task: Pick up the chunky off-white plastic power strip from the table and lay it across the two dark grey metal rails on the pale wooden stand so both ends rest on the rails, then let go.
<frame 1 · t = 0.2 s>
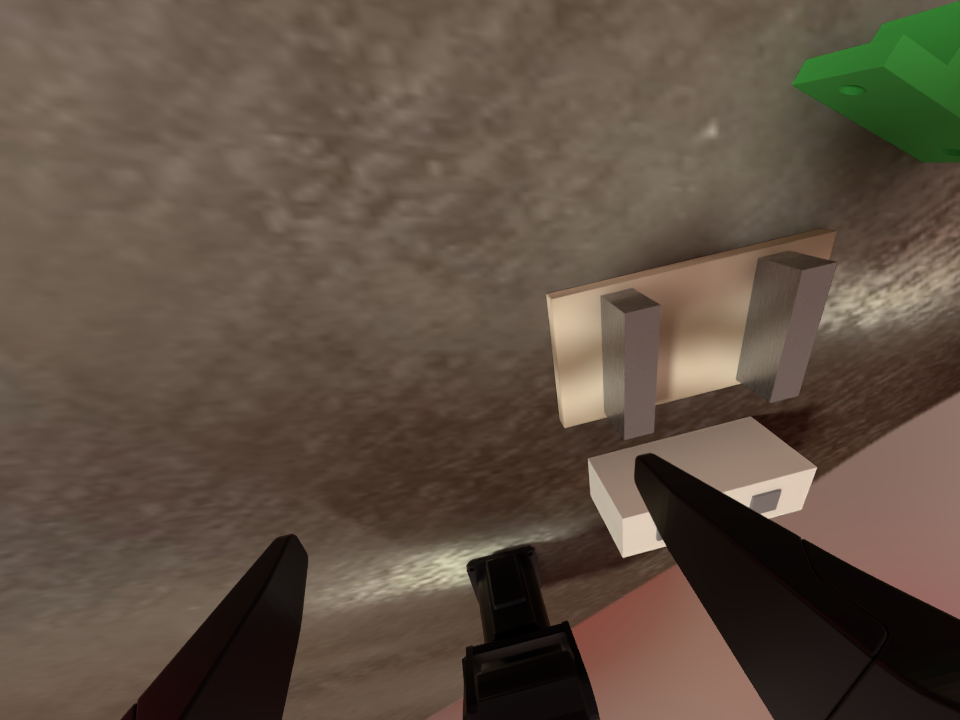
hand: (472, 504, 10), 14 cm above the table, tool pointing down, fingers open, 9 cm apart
power strip: (667, 455, 31), on the table
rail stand: (679, 332, 25), on the table
pipe clamp: (879, 92, 20), on the table
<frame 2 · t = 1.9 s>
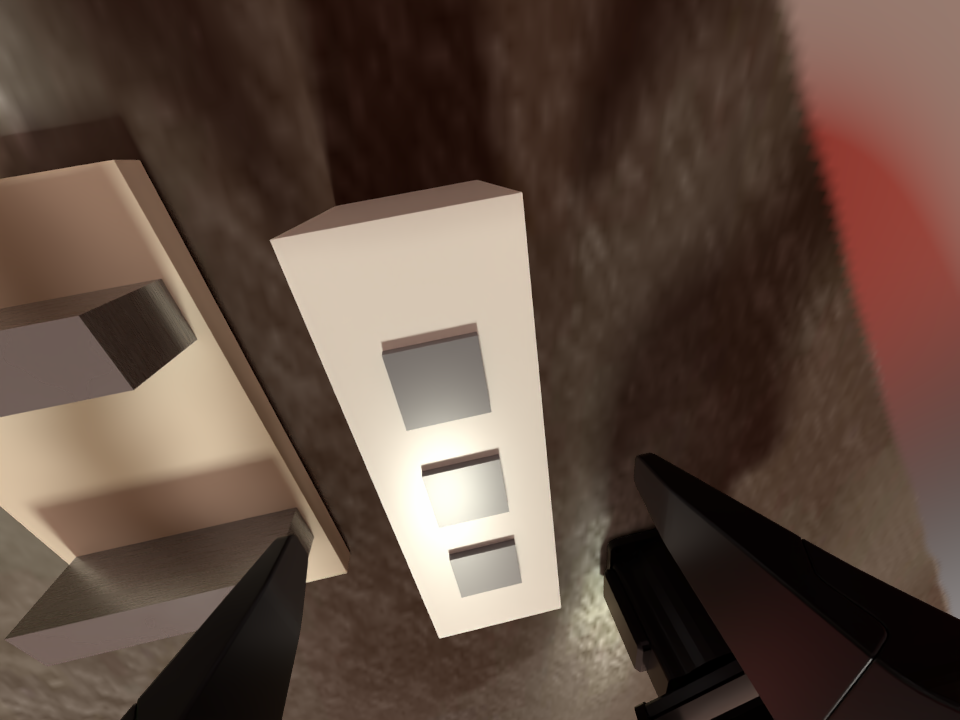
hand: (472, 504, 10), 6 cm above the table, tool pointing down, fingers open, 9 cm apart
power strip: (450, 376, 15), on the table
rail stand: (146, 443, 14), on the table
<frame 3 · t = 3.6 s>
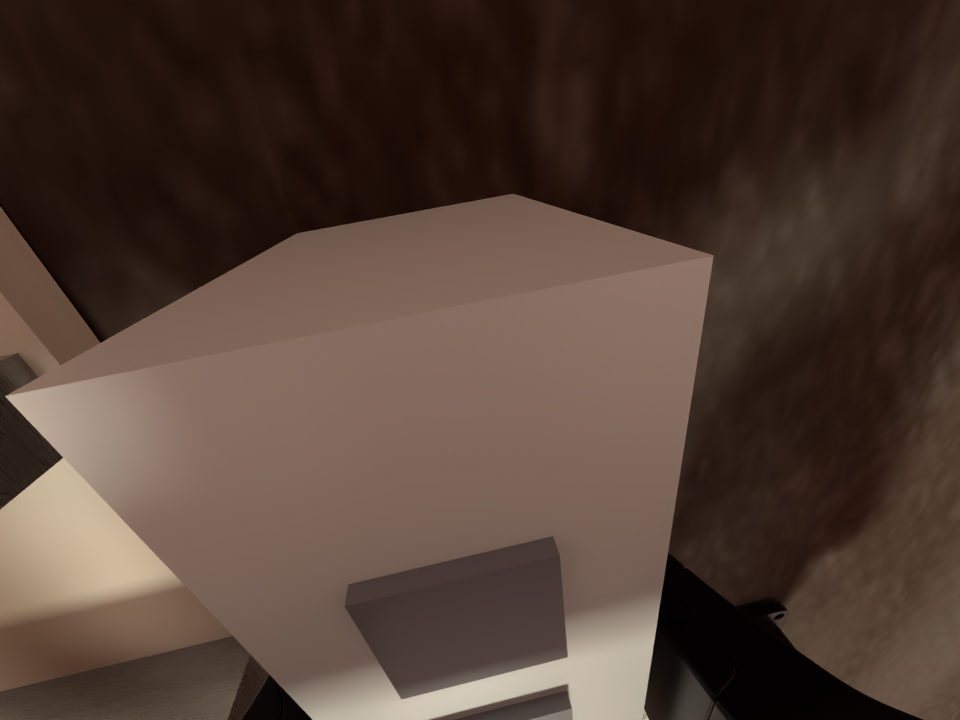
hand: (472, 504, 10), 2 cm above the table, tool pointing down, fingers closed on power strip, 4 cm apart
power strip: (465, 461, 11), on the table, touching gripper
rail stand: (46, 556, 10), on the table
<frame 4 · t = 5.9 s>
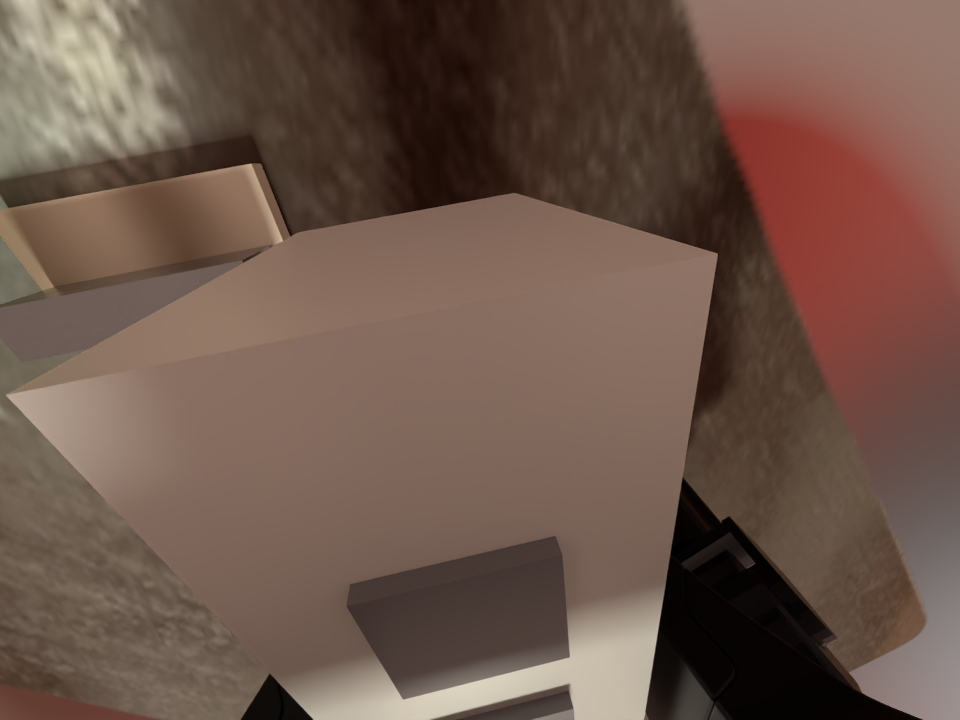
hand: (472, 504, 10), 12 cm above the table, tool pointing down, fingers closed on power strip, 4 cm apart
power strip: (465, 461, 11), point 10 cm above the table, touching gripper
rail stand: (242, 374, 19), on the table
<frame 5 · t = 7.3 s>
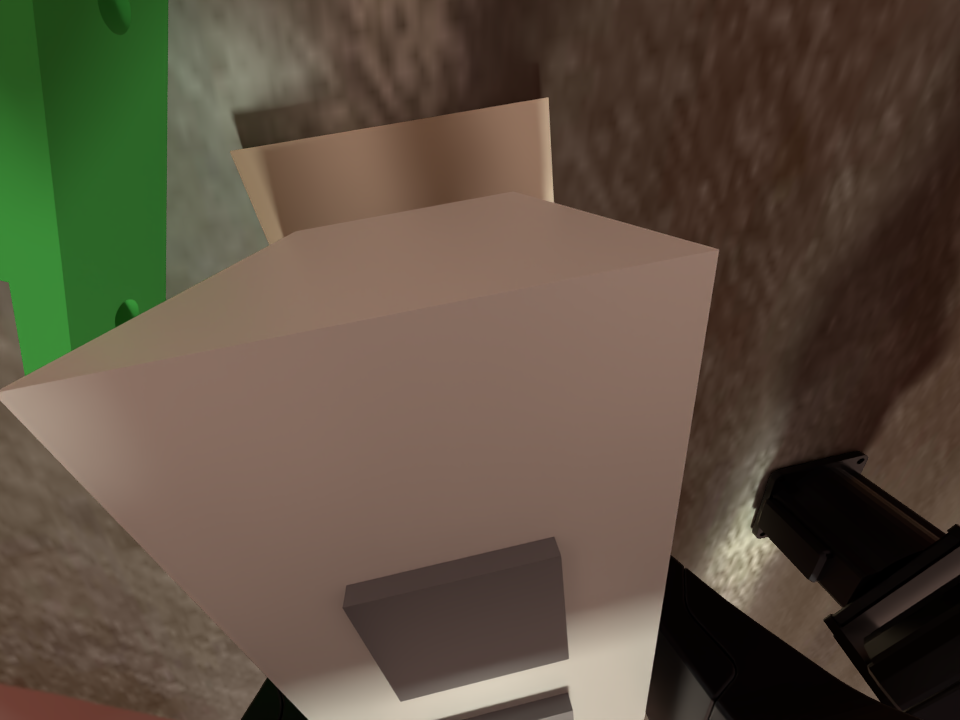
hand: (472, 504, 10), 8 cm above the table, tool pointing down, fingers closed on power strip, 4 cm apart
power strip: (465, 461, 11), point 7 cm above the table, touching gripper
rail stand: (447, 358, 17), on the table
pipe clamp: (110, 158, 12), on the table
when the fingers open (7 cm above the table, at t = 8.2 s): power strip drops 1 cm, resting on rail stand.
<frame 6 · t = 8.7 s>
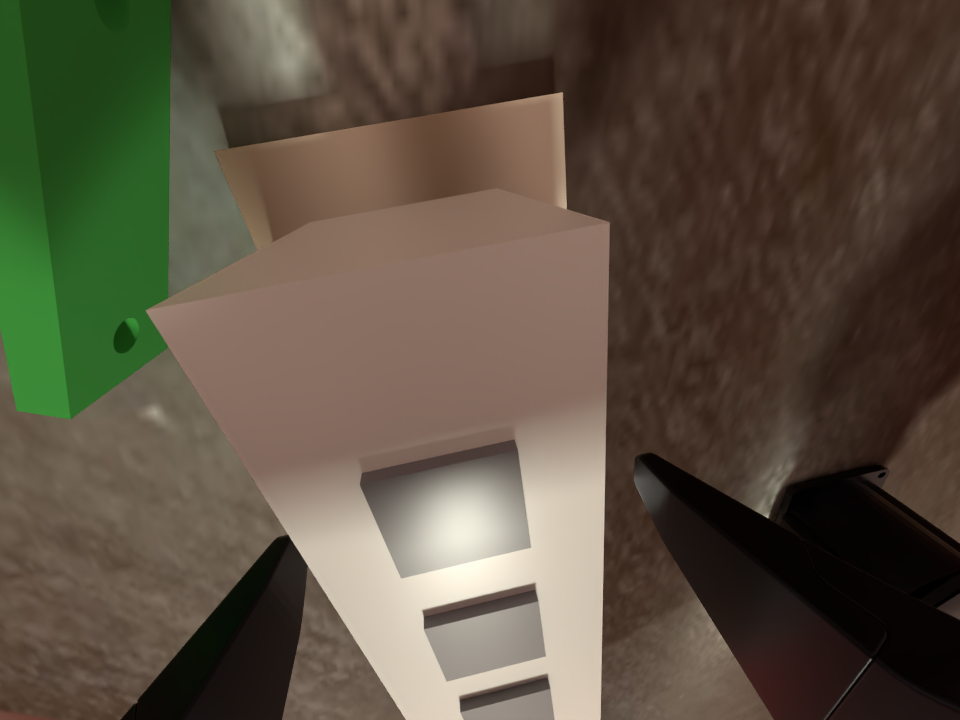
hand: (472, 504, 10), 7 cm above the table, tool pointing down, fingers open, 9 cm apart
power strip: (458, 430, 12), point 4 cm above the table, touching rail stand
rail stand: (450, 371, 16), on the table
pipe clamp: (108, 166, 11), on the table
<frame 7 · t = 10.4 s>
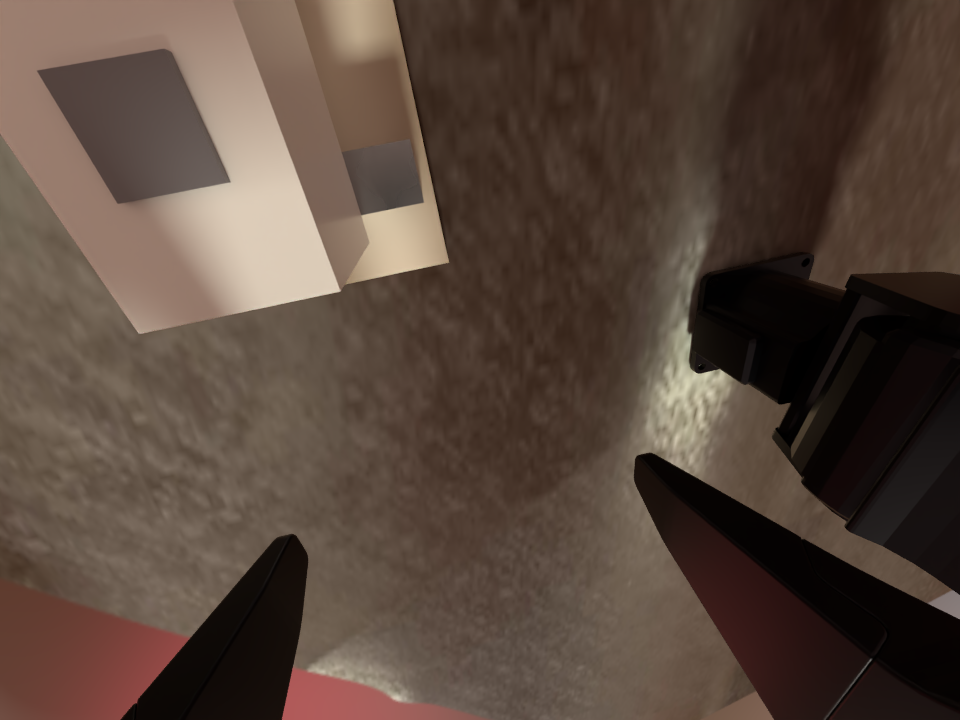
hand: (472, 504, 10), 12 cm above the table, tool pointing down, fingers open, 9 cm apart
power strip: (208, 1, 10), point 4 cm above the table, touching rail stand
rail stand: (263, 44, 14), on the table
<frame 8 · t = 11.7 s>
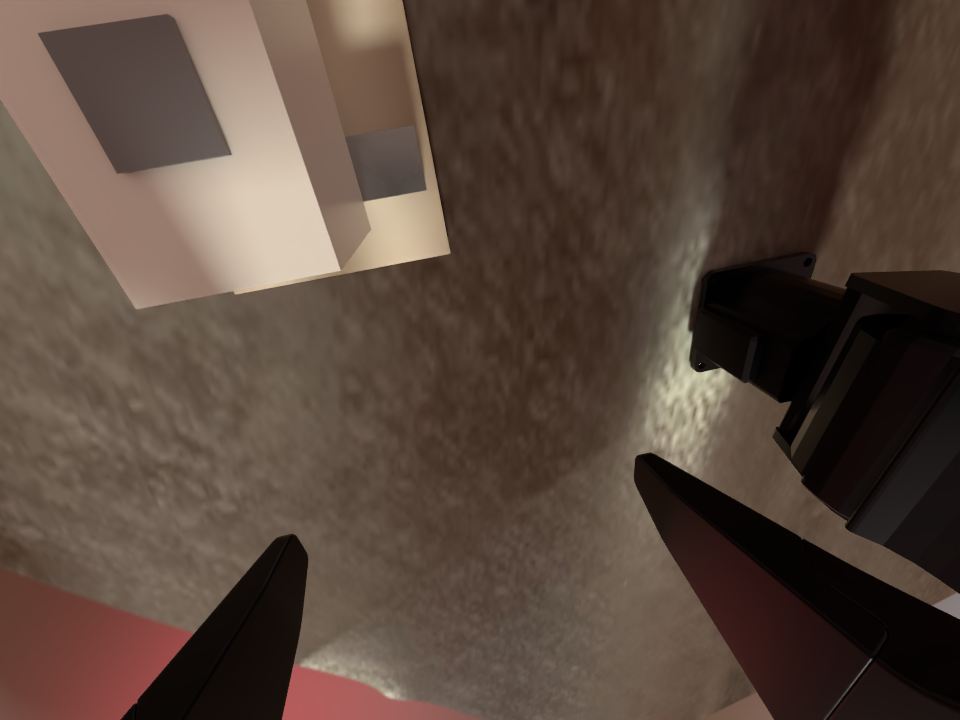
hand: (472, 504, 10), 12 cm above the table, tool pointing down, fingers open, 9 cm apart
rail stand: (268, 28, 14), on the table
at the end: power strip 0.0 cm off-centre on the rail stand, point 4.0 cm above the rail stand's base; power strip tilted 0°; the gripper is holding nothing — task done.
